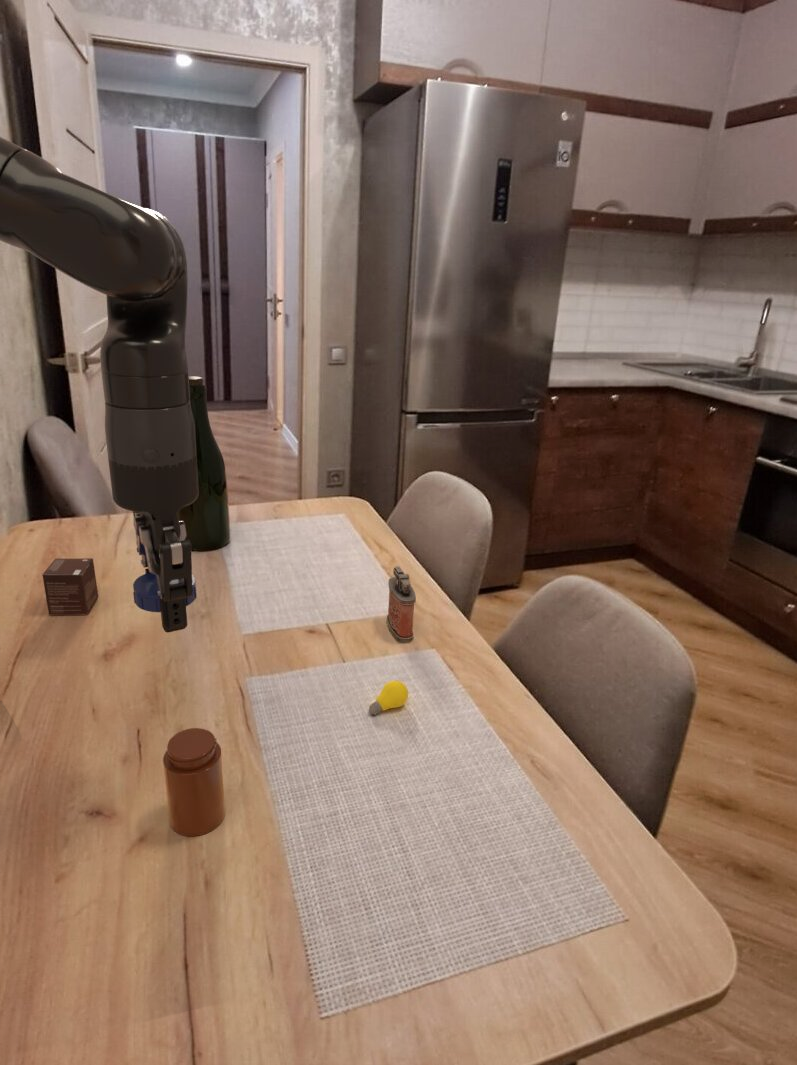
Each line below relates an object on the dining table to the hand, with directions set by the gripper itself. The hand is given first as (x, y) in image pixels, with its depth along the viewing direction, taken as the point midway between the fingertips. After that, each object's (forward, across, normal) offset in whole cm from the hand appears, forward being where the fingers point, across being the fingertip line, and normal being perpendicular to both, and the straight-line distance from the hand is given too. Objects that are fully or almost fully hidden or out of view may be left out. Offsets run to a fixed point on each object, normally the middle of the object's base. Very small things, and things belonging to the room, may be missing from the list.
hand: (167, 613), depth 66 cm
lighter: (+21, +17, -38) cm, 47 cm away
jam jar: (+21, -6, 0) cm, 22 cm away
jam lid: (-3, 0, 0) cm, 3 cm away
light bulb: (+21, +1, -27) cm, 34 cm away
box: (+22, +47, +6) cm, 52 cm away
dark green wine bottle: (+22, +64, -20) cm, 71 cm away
